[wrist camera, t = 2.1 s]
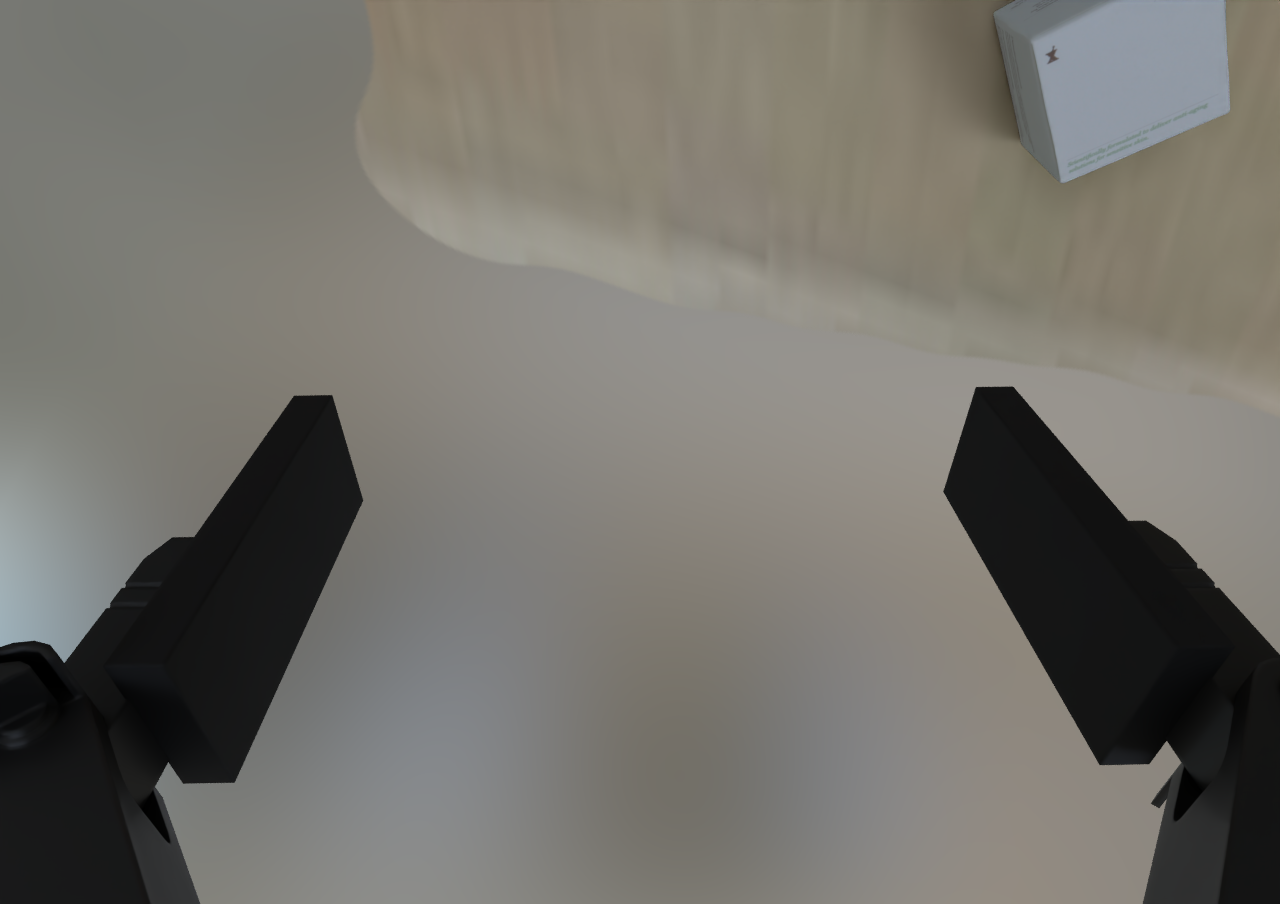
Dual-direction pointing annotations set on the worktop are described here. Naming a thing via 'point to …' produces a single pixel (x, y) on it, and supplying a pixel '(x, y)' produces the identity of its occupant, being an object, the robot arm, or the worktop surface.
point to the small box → (1111, 75)
